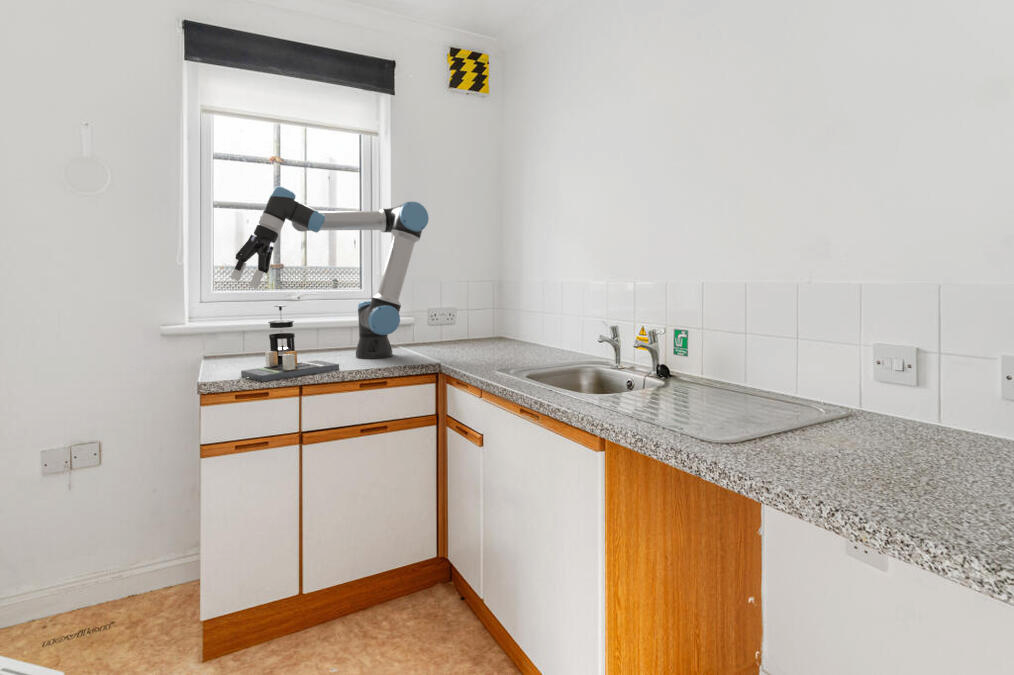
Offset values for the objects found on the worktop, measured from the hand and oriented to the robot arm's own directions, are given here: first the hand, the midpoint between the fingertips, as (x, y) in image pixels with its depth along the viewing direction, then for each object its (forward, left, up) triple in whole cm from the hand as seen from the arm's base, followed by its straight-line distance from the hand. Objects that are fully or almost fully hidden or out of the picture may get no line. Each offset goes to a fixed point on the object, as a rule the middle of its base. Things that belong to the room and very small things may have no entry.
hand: (243, 283), depth 185 cm
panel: (-8, +15, -31) cm, 36 cm away
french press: (-14, -3, -32) cm, 34 cm away
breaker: (-8, +15, -29) cm, 34 cm away
